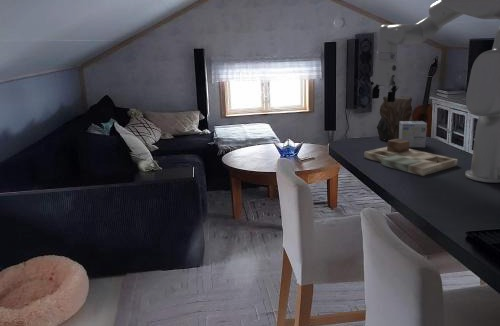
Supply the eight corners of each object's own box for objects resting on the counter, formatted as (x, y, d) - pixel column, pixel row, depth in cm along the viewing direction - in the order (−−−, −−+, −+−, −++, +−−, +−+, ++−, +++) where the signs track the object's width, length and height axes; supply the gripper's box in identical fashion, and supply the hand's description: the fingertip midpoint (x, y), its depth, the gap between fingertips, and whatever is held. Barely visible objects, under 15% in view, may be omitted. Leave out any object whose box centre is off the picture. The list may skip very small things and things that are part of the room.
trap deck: (456, 165, 164) (457, 159, 164) (422, 175, 153) (423, 169, 152) (392, 150, 187) (393, 145, 187) (358, 158, 176) (359, 152, 175)
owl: (374, 138, 212) (377, 96, 207) (393, 135, 218) (396, 94, 213) (395, 143, 202) (398, 99, 196) (414, 139, 207) (417, 97, 202)
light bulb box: (421, 144, 198) (423, 120, 196) (425, 147, 192) (427, 123, 189) (397, 144, 200) (398, 120, 197) (400, 147, 193) (402, 123, 190)
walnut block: (408, 150, 177) (409, 141, 176) (399, 153, 174) (400, 143, 173) (396, 148, 182) (397, 138, 181) (387, 150, 179) (387, 140, 178)
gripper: (409, 58, 169) (404, 102, 174) (380, 55, 184) (376, 96, 189) (393, 58, 166) (389, 103, 171) (365, 56, 181) (362, 97, 186)
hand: (382, 99), depth 180 cm, fingers open, 9 cm apart
